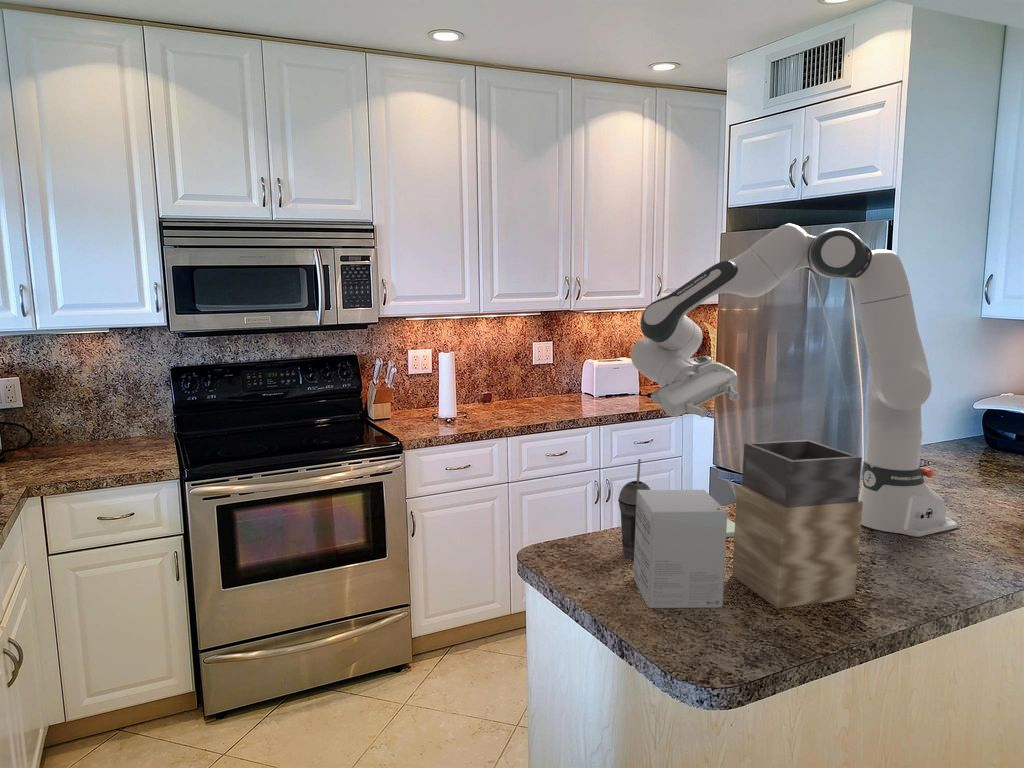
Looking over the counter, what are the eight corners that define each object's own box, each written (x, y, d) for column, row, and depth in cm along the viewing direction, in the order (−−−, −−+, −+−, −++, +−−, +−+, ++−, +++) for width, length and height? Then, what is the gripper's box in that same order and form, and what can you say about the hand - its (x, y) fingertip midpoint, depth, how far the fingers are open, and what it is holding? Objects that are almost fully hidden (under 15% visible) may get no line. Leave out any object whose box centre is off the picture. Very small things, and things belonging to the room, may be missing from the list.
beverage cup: (611, 557, 144) (614, 462, 141) (623, 545, 150) (626, 454, 148) (646, 564, 141) (649, 466, 138) (656, 552, 147) (660, 458, 144)
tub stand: (803, 567, 140) (813, 439, 136) (854, 598, 126) (866, 457, 123) (731, 575, 136) (739, 443, 132) (776, 608, 122) (786, 462, 119)
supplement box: (701, 576, 135) (705, 488, 133) (723, 608, 122) (729, 511, 120) (632, 577, 135) (635, 488, 132) (647, 609, 122) (651, 511, 119)
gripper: (646, 384, 166) (686, 412, 156) (712, 353, 173) (755, 378, 163) (646, 405, 170) (686, 434, 159) (711, 373, 177) (753, 399, 166)
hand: (721, 405), depth 161 cm, fingers open, 8 cm apart
